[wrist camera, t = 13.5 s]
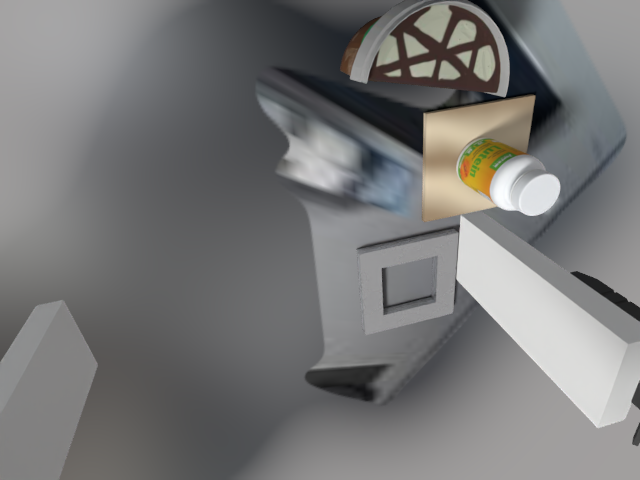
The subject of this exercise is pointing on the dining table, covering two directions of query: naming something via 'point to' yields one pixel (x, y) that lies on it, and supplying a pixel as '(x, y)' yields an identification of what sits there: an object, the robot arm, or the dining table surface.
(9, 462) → the robot arm
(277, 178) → the dining table surface
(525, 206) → the supplement bottle
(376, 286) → the grey square frame
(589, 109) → the dining table surface
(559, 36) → the dining table surface
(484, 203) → the oak pad
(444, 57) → the food container
